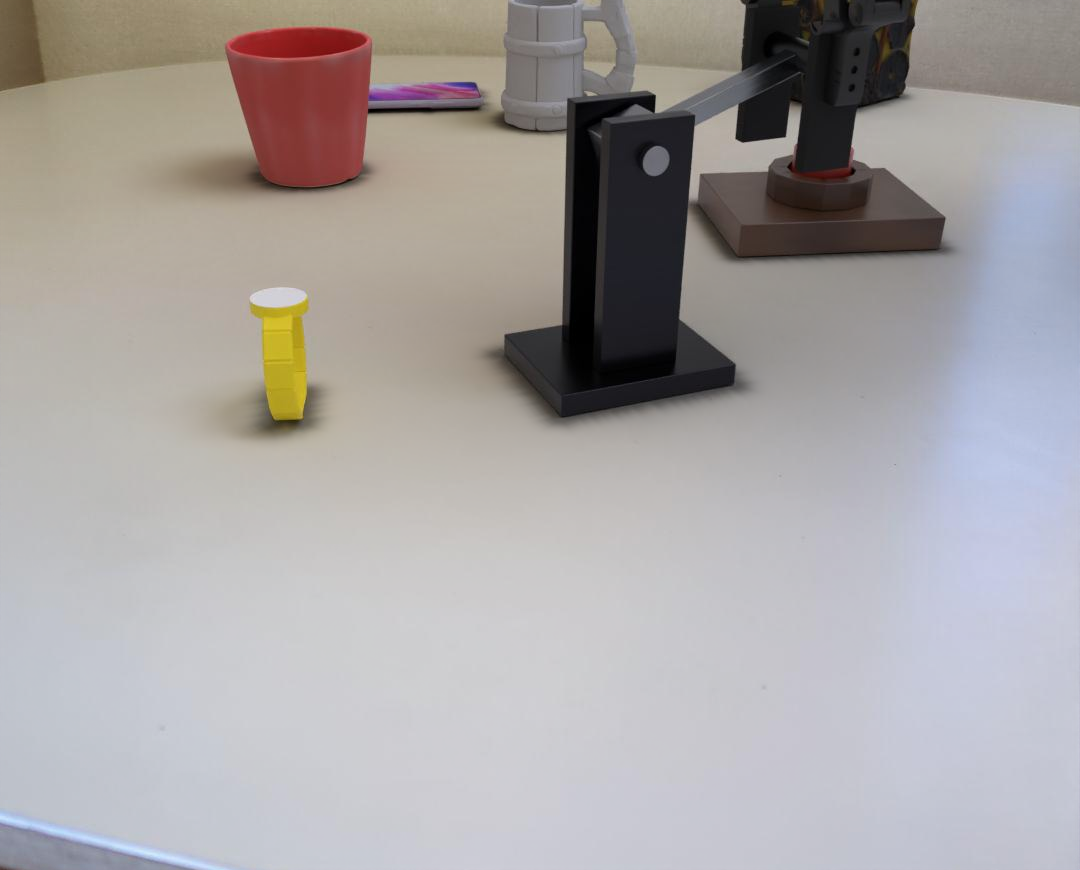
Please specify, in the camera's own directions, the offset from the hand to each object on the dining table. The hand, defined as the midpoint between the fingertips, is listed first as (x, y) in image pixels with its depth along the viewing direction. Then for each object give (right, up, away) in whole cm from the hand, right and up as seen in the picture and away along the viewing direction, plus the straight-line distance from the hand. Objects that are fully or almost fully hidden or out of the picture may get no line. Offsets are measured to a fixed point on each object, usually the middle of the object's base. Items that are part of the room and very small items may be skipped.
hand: (789, 151), depth 62 cm
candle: (+15, +23, +53) cm, 60 cm away
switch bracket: (-9, -11, +3) cm, 14 cm away
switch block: (+6, +2, +22) cm, 23 cm away
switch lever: (-4, +1, -3) cm, 5 cm away
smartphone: (-26, +20, +49) cm, 59 cm away
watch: (-25, -14, -1) cm, 29 cm away
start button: (+6, +5, +20) cm, 22 cm away
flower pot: (-31, +8, +31) cm, 44 cm away
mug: (-11, +17, +44) cm, 48 cm away
